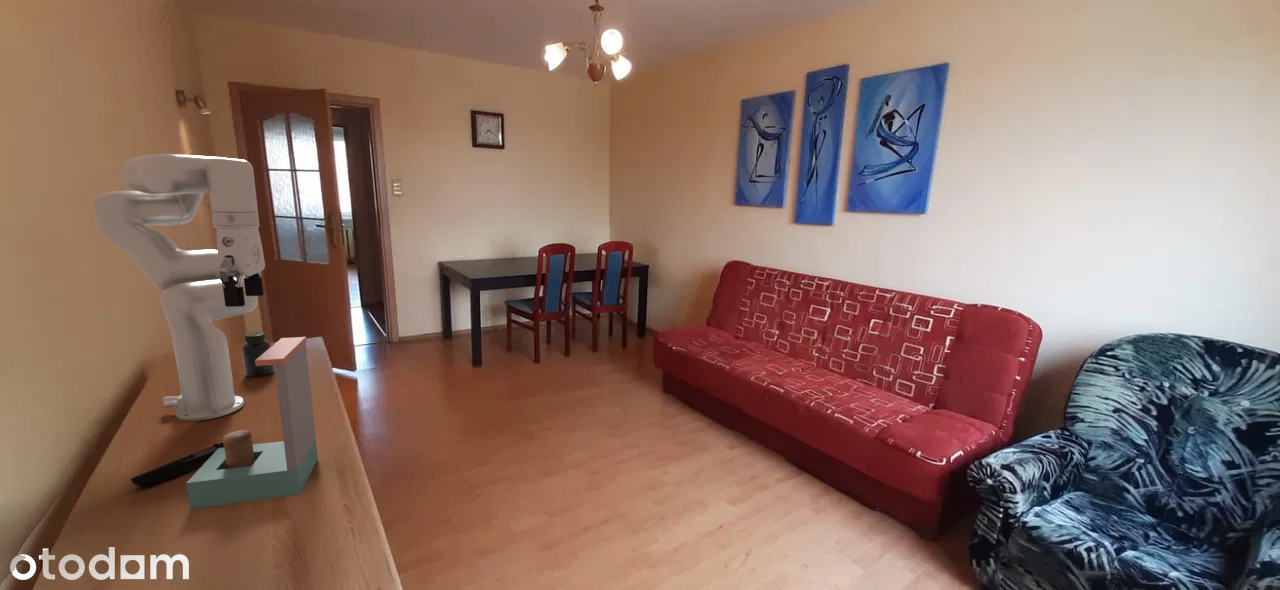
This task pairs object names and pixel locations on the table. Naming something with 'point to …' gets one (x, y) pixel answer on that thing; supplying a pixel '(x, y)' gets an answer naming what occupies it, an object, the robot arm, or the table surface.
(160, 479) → the electric trimmer
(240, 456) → the walnut peg
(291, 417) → the socket stand
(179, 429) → the table surface
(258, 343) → the supplement bottle
